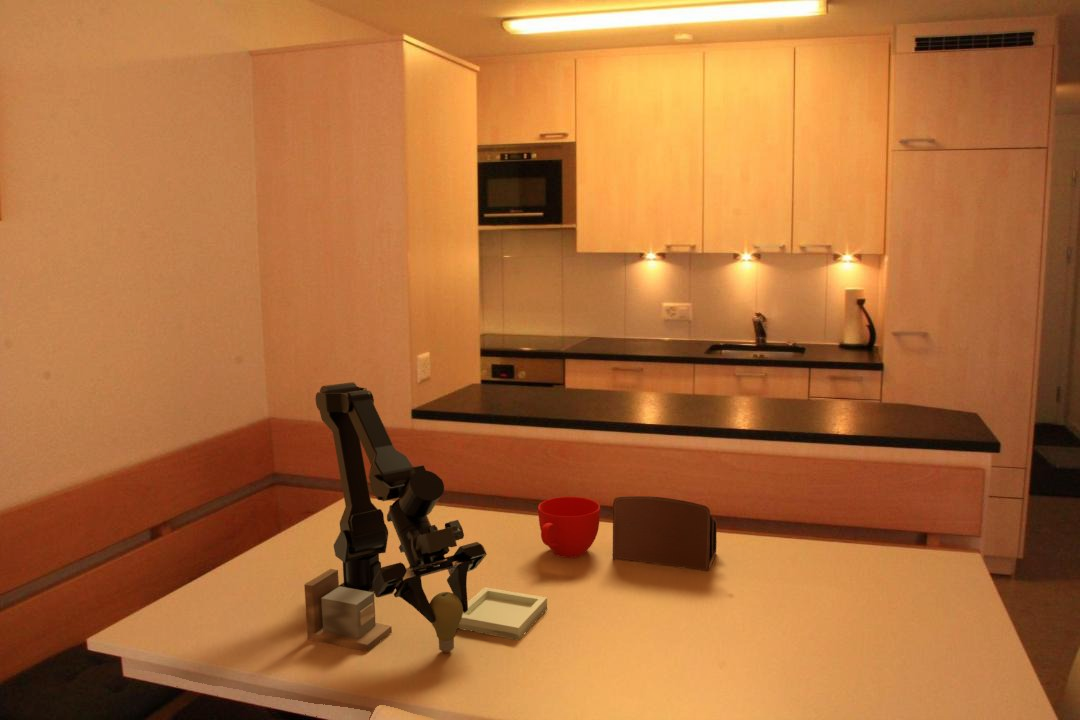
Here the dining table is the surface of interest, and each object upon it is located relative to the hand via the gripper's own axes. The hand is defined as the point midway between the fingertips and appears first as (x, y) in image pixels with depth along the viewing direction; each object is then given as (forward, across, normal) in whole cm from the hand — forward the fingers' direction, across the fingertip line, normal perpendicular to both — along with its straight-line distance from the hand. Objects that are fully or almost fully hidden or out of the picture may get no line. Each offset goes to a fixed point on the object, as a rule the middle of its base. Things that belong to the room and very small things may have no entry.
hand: (450, 616), depth 133 cm
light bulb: (+4, 0, +6) cm, 7 cm away
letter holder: (-1, +56, +11) cm, 57 cm away
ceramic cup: (-11, +40, +20) cm, 46 cm away
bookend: (-7, -10, +16) cm, 20 cm away
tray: (0, +14, +9) cm, 16 cm away
